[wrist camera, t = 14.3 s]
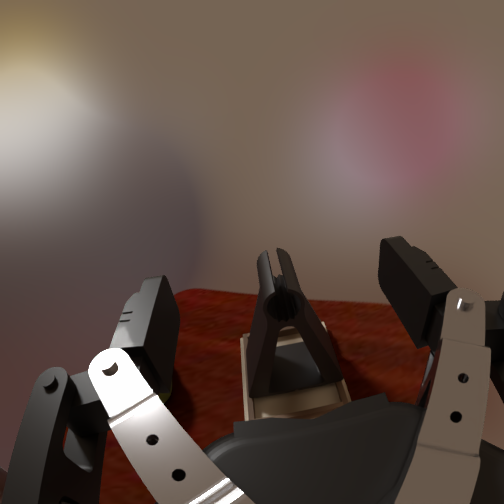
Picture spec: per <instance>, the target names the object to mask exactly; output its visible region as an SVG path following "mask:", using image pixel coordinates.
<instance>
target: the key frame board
mask: <svg viewBox="0 0 504 504" xmlns="http://www.w3.org/2000/svg"><path fill="white" fill-rule="evenodd" d="M320 321H321V320H320ZM321 323H322V325H323V326H324V328H325V330H326V331H327V329H326V327H325V324H324V322H321ZM327 333H328V332H327ZM249 335H250V333H249V334H243V338H240V343H241V361H242V379H243V396H244V412H245V421H248V420H256V419H264V418H271V417H274V418H293V419H314V418H317V417H319V416H321V415H324V414H326V413H328V412H330V411H332V410H334V409H336V408H338V407H341V406H343V405H345V404H347V403H349V402H351V398H350V395H349V392H348V389H347V386H346V383H345V381H344V379H343V380H342V381H339V382H335V383H331V384H327V385H322V386H318V387H313V388H309V389H304V390H295V391H294V392H288V393H283V394H277V395H271V396H265V397H259V398H249V392H248V377H247V362H246V348H247V344H248V339H249ZM298 342H303V339H302V338H301V336H300V334H299V332H298V330H297V329H296V328H295V327H292V326H288V327H284V328H283V329H281V330H280V332H279V335H278V341H277V346H283V345H288V344H293V343H298ZM277 346H276V347H277Z"/></svg>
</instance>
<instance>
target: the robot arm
mask: <svg viewBox="0 0 504 504" xmlns="http://www.w3.org/2000/svg"><path fill="white" fill-rule="evenodd" d="M378 269H379V270H378V280H379V284H380V287H381V289H382V291H383V293H384V294H385V295H386V297H387V299H388V301H389V302H390V304H391V305H392V307H393V309H394V310H395V312H396V314H397V315H398V317H399V319H400V320H401V322H402V324H403V325H404V327H405V329H406V330H407V332H408V334H409V335H410V337H411V339H412V341H413V342H414V344H415V346H416V348H417V349H419V348H422V347H425V346H428V345H429V347H430V349H431V350H430V353H429V356H428V360H427V364H426V368H425V372H424V376H423V380H422V383H421V387H420V391H419V394H418V397H417V400H416V402H415V405H413V404H409V403H402V402H388V399H387V397H386V394H385V392H384V393H381V394H378V395H374V396H370V397H367V398H363V399H359V400H355V401H351V402H349V403H347V404H345V405H343V406H341V407H338V408H336V409H334V410H332V411H330V412H328V413H326V414H324V415H321V416H319V417H317V418H314V419H293V418H274V417H271V418H264V419H256V420H248V421H240V422H234V433H231V434H228V435H226V436H224V437H221V438H219V439H218V440H216V441H214V442H212V443H211V444H210V445H208V446H207V447H206V448H204V449H203V450H201V449H200V448H199V447H198V446H197V444H196V443H195V442H194V441H193V440H192V439H191V437H190V436H189V435H188V434H187V433H186V432H185V430H184V429H183V428H182V427H181V426H180V424H179V423H178V422H177V421H176V419H175V418H174V417H173V416H172V414H171V413H170V412H169V411H168V409H167V408H166V407H165V406H164V404H163V403H162V402H161V400H160V399H159V398H158V397H159V393H170V389H171V382H172V374H173V367H174V360H175V353H176V346H177V340H178V333H179V327H180V314H179V310H178V306H177V304H176V301H175V298H174V296H173V293H172V290H171V287H170V285H169V282H168V279H167V278H166V276H165V275H162V276H157V277H150V278H145V279H144V282H143V285H142V287H141V290H140V293H134V294H133V295H132V297H131V298H130V299H129V300H128V301H127V302H126V305H125V307H124V310H123V312H122V313H123V314H122V315H121V317H120V320H119V321H120V323H118V326H117V328H116V331H115V334H114V337H113V340H112V342H111V345H110V348H109V350H107V351H104V352H102V353H101V354H99V355H98V356H97V357H95V359H94V360H93V361H92V363H91V364H90V367H89V370H88V371H85V372H83V373H79V374H76V375H73V376H69V375H68V374H67V372H66V371H65V370H64V369H63V368H61V367H53V368H49V369H47V370H46V371H44V372H43V373H42V374H41V375H40V376H39V377H38V379H37V380H36V383H35V385H34V388H33V390H32V393H31V396H30V399H29V401H28V405H27V407H26V410H25V413H24V416H23V419H22V422H21V425H20V429H19V432H18V436H17V439H16V442H15V446H14V449H13V453H12V457H11V461H10V465H9V469H8V472H7V471H5V470H4V469H3V468H1V467H0V504H99V495H100V485H101V475H102V467H103V459H104V451H105V444H106V438H107V431H108V430H112V431H113V433H114V435H115V436H116V438H117V440H118V442H119V444H120V445H121V447H122V449H123V450H124V452H125V454H126V455H127V457H128V459H129V460H130V462H131V464H132V465H133V467H134V468H135V470H136V472H137V473H138V475H139V476H140V478H141V479H142V481H143V482H144V484H145V485H146V487H147V488H148V490H149V491H150V492H151V494H152V495H153V497H154V498H155V499H156V501H157V502H156V503H155V504H504V450H503V449H500V448H499V447H496V446H495V445H492V444H491V443H488V442H487V441H485V440H483V439H481V437H482V432H483V426H484V419H485V413H486V406H487V397H488V389H489V378H491V380H492V382H493V384H494V386H495V388H496V389H497V391H498V393H499V395H500V397H501V399H502V401H503V403H504V292H503V295H502V298H501V300H500V301H484V300H483V298H482V297H481V296H480V295H479V294H478V293H477V292H475V291H473V290H471V289H467V288H458V287H457V286H456V285H455V284H454V283H453V282H452V281H451V280H450V278H449V277H448V276H447V275H446V274H445V273H444V272H443V271H442V269H441V268H439V267H438V265H437V264H436V263H435V262H433V260H432V259H431V258H430V257H429V256H428V254H427V253H426V252H424V251H422V250H420V249H418V248H417V247H415V246H414V247H411V246H410V245H409V243H407V242H406V240H405V239H404V238H403V237H401V236H397V237H391V238H385V239H382V240H381V243H380V256H379V268H378ZM66 426H67V427H68V428H69V429H68V433H67V438H66V442H65V447H64V451H63V446H62V443H63V438H64V434H65V430H66Z"/></svg>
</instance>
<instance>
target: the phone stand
mask: <svg viewBox="0 0 504 504" xmlns="http://www.w3.org/2000/svg"><path fill="white" fill-rule="evenodd" d="M276 251H277V255H278V259H279V263H280V266H281V270H282V274H283V275H278V277H277V278H276V277H275V276H273V275H272V271H271V266H270V261H269V256H268V252H267V251H266V250H265V251H264V252H262V253H261V254H260V256H259V257H258V260H257V270H258V277H259V284H260V289H259V294H258V298H257V303H256V307H255V312H254V317H253V321H252V326H251V330H250V335H249V339H248V344H247V348H246V362H247V377H248V392H249V398H259V397H265V396H271V395H277V394H283V393H288V392H294V391H295V390H304V389H309V388H313V387H318V386H322V385H327V384H331V383H335V382H339V381H342V380H343V379H344V377H343V374H342V372H341V369H340V366H339V363H338V360H337V357H336V354H335V351H334V348H333V345H332V343H331V340H330V337H329V335H328V333H327V331H326V330H325V328H324V326H323V325H322V323H321V321H320V320H319V318H318V316H317V315H316V313H315V312H314V310H313V308H312V307H311V305H310V303H309V302H308V300H307V298H306V297H305V295H304V294H303V292H302V291H301V288H300V285H299V282H298V279H297V276H296V273H295V270H294V267H293V264H292V261H291V258H290V256H289V254H288V253H287V252H286V251H284V250H283V249H280V248H277V250H276ZM288 326H292V327H295V328H296V329H297V330H298V332H299V334H300V336H301V338H302V339H303V342H298V343H293V344H288V345H283V346H277V341H278V335H279V332H280V330H281V329H283V328H284V327H288ZM276 346H277V347H276Z"/></svg>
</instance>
